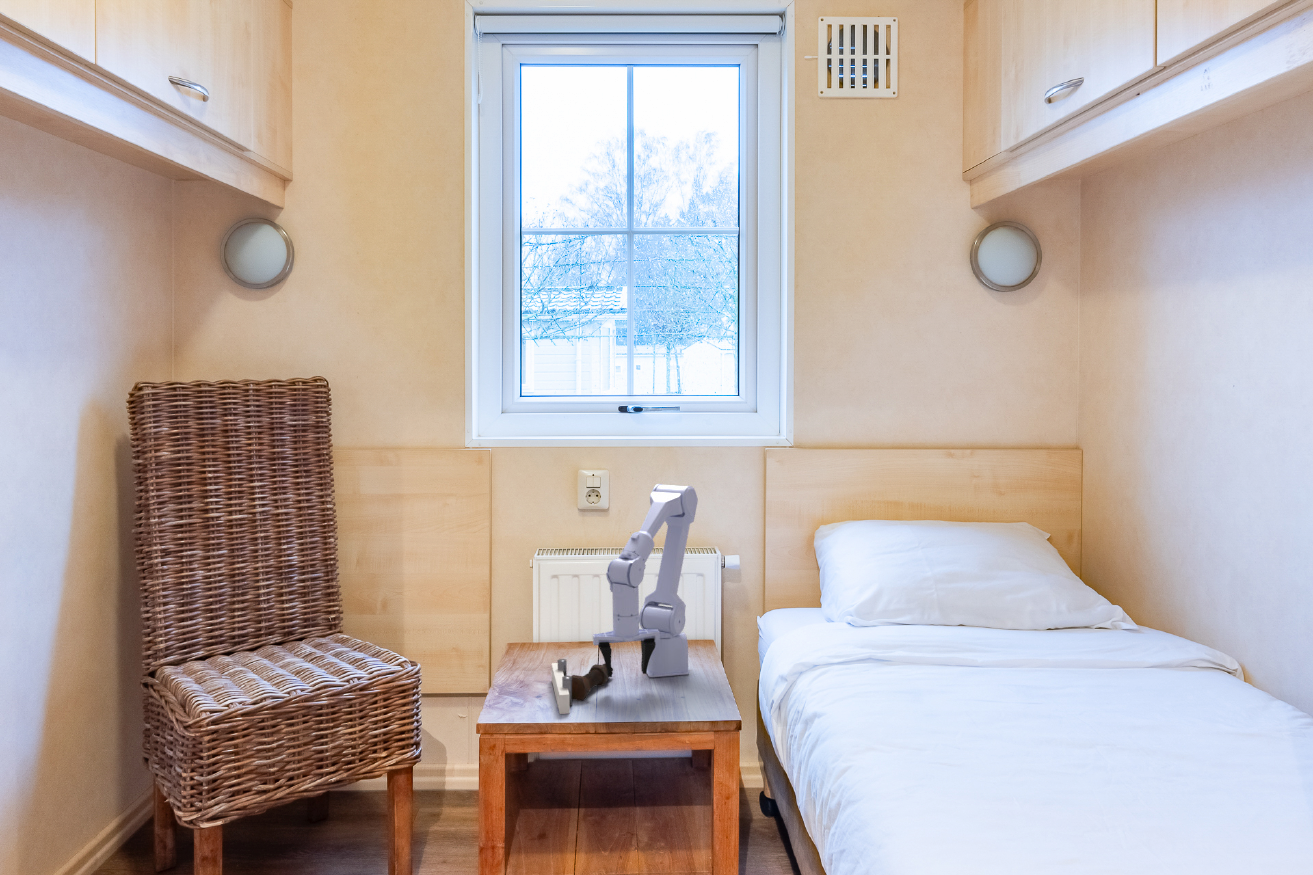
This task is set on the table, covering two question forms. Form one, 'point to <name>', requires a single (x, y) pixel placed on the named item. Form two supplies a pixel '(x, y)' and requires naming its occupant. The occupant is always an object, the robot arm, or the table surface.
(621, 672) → the table surface
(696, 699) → the table surface
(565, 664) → the bar
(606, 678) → the bolt
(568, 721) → the table surface
